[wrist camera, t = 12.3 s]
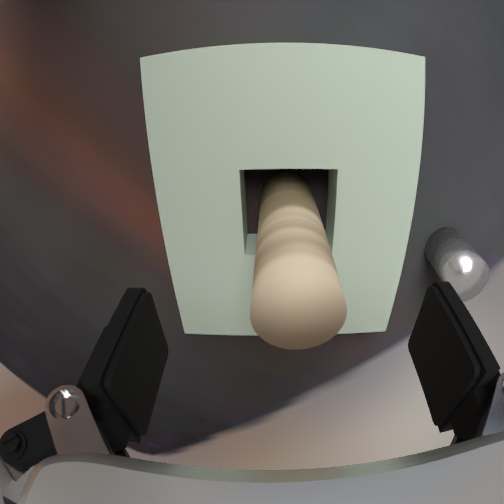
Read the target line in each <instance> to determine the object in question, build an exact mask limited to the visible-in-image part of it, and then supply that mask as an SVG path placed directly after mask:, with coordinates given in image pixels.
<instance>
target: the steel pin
mask: <svg viewBox="0 0 504 504" xmlns="http://www.w3.org/2000/svg"><path fill="white" fill-rule="evenodd" d="M425 256H426V258H427V260H428V261H429V263H430V264H431V266H432V267H433V269H434V270H435V271H436V273H437V274H438V276H439V277H440V279H441V280H442V282H444V281H448V282H450V283H451V285H452V286H453V288H454V289H455V291H456V292H457V294H458V296H459V297H460V299H461V300H462V301H467V300H470V299H472V298H473V297H475V296H476V295H477V294H479V293H480V292H481V291H482V289H483V288H484V287H485V285H486V283H487V281H488V278H489V267H488V265H487V264H486V263H485V262H484V260H483V259H482V258H481V257H480V256H479V255H478V254H477V253H476V251H475V250H474V249H473V248H472V247H471V246H470V245H469V244H468V243H467V242H466V241H465V240H464V238H463V237H462V236H461V235H460V234H459V233H458V232H457V231H456V230H455V229H453V228H450V227H443V228H440V229H438V230H436V231H435V232H434V233H433V234H432V235H431V236H430V237H429V239H428V240H427V243H426V245H425Z"/></svg>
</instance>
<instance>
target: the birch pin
mask: <svg viewBox="0 0 504 504" xmlns="http://www.w3.org/2000/svg"><path fill="white" fill-rule="evenodd" d="M346 316H347V305H346V301H345V298H344V294H343V290H342V287H341V283H340V280H339V276H338V273H337V269H336V266H335V263H334V259H333V256H332V253H331V249H330V246H329V243H328V240H327V236H326V233H325V230H324V227H323V224H322V221H321V218H320V215H319V211H318V208H317V205H316V202H315V199H314V196H313V194H312V191H311V188H310V186H309V184H308V182H307V181H306V180H305V179H304V178H303V177H301V176H299V175H297V174H294V173H289V172H284V173H279V174H276V175H274V176H272V177H271V178H270V179H268V180H267V182H266V183H265V184H264V186H263V188H262V191H261V200H260V211H259V222H258V233H257V244H256V254H255V265H254V276H253V287H252V297H251V308H250V321H251V324H252V327H253V329H254V331H255V332H256V333H257V335H258V336H259V337H260V338H261V339H263V340H264V341H266V342H267V343H269V344H271V345H273V346H276V347H279V348H283V349H290V350H301V349H308V348H312V347H316V346H318V345H321V344H323V343H325V342H327V341H328V340H330V339H331V338H333V337H334V336H335V335H336V334H337V333H338V332H339V331H340V329H341V328H342V326H343V325H344V322H345V320H346Z"/></svg>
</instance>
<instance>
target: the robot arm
mask: <svg viewBox="0 0 504 504" xmlns="http://www.w3.org/2000/svg"><path fill="white" fill-rule="evenodd" d="M408 349H409V352H410V355H411V357H412V360H413V363H414V365H415V368H416V371H417V374H418V376H419V380H420V382H421V385H422V388H423V391H424V394H425V397H426V400H427V404H428V407H429V410H430V413H431V416H432V420H433V422H434V424H435V425H436V426H438V428H439V431H440V433H441V432H445V431H449V430H452V429H453V430H454V434H455V435H454V438H453V440H452V442H451V444H450V446H447V447H442V448H438V449H435V450H431V451H426V452H422V453H418V454H414V455H409V456H404V457H399V458H394V459H389V460H384V461H377V462H371V463H364V464H356V465H349V466H340V467H330V468H319V469H302V470H231V469H215V468H202V467H193V466H183V465H175V464H167V463H160V462H153V461H147V460H141V459H135V458H130V456H129V454H128V453H127V451H126V449H125V448H126V447H127V443H128V441H132V442H137V443H140V439H141V436H145V435H146V433H147V430H148V426H149V422H150V418H151V414H152V411H153V407H154V403H155V400H156V396H157V392H158V389H159V385H160V382H161V378H162V374H163V371H164V367H165V364H166V361H167V357H168V346H167V343H166V340H165V337H164V333H163V330H162V327H161V324H160V321H159V318H158V315H157V311H156V308H155V305H154V301H153V298H152V295H151V293H149V292H147V291H146V289H145V288H128V289H127V290H126V292H125V294H124V295H123V297H122V299H121V301H120V303H119V305H118V307H117V309H116V311H115V312H114V314H113V316H112V318H111V320H110V322H109V324H108V325H107V326H106V327H105V328H104V330H103V332H102V334H101V336H100V338H99V340H98V342H97V344H96V346H95V348H94V350H93V352H92V354H91V356H90V358H89V361H88V363H87V365H86V367H85V369H84V371H83V373H82V376H81V378H80V380H79V382H78V384H77V387H76V386H73V385H64V386H60V387H58V388H56V389H55V390H53V391H52V392H51V393H50V394H49V396H48V398H47V399H46V402H45V411H44V412H42V413H40V414H38V415H37V416H34V417H33V418H31V419H29V420H27V421H25V422H23V423H21V424H19V425H17V426H15V427H13V428H11V429H9V430H7V431H6V432H5V433H4V434H3V435H2V437H1V439H0V504H504V373H502V374H500V372H499V369H500V367H499V365H498V363H497V361H496V359H495V357H494V355H493V353H492V351H491V350H490V348H489V346H488V344H487V342H486V340H485V339H484V337H483V335H482V334H481V332H480V330H479V328H478V326H477V325H476V323H475V321H474V320H473V318H472V317H471V315H470V313H469V311H468V310H467V308H466V307H465V305H464V303H463V302H462V300H461V299H460V297H459V296H458V294H457V292H456V291H455V289H454V288H453V286H452V285H451V283H450V282H448V281H444V282H434V283H433V284H432V285H431V287H428V289H427V291H426V294H425V297H424V300H423V303H422V306H421V309H420V312H419V315H418V318H417V320H416V323H415V326H414V328H413V331H412V334H411V336H410V339H409V342H408Z"/></svg>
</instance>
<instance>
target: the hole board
mask: <svg viewBox="0 0 504 504" xmlns="http://www.w3.org/2000/svg"><path fill="white" fill-rule="evenodd" d="M140 66H141V79H142V90H143V100H144V110H145V119H146V128H147V136H148V144H149V151H150V158H151V166H152V172H153V179H154V185H155V192H156V198H157V204H158V210H159V215H160V221H161V226H162V232H163V237H164V242H165V247H166V252H167V257H168V262H169V267H170V272H171V276H172V281H173V286H174V290H175V294H176V299H177V303H178V307H179V312H180V316H181V320H182V324H183V328H184V332H185V333H186V334H210V335H257V333H256V332H255V331H254V329H253V327H252V324H251V321H250V308H251V297H252V287H253V276H254V265H255V254H256V244H257V234H248V227H247V209H246V192H245V174H244V170H250V169H329V174H328V198H327V216H326V232H325V233H326V236H327V240H328V243H329V246H330V249H331V253H332V256H333V259H334V263H335V266H336V269H337V273H338V276H339V280H340V283H341V287H342V290H343V294H344V298H345V301H346V305H347V316H346V320H345V322H344V325H343V326H342V328H341V329H340V331H339V332H338V333H337V334H347V333H365V332H380V331H386V327H387V324H388V321H389V317H390V314H391V310H392V306H393V303H394V299H395V295H396V291H397V287H398V283H399V279H400V275H401V271H402V266H403V262H404V257H405V253H406V248H407V243H408V238H409V233H410V227H411V222H412V216H413V210H414V204H415V197H416V190H417V183H418V175H419V167H420V158H421V148H422V136H423V122H424V103H425V57H422V56H417V55H412V54H407V53H401V52H395V51H389V50H382V49H375V48H367V47H358V46H347V45H335V44H318V43H253V44H236V45H223V46H212V47H203V48H195V49H188V50H181V51H174V52H168V53H162V54H157V55H151V56H146V57H141V58H140Z"/></svg>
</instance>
